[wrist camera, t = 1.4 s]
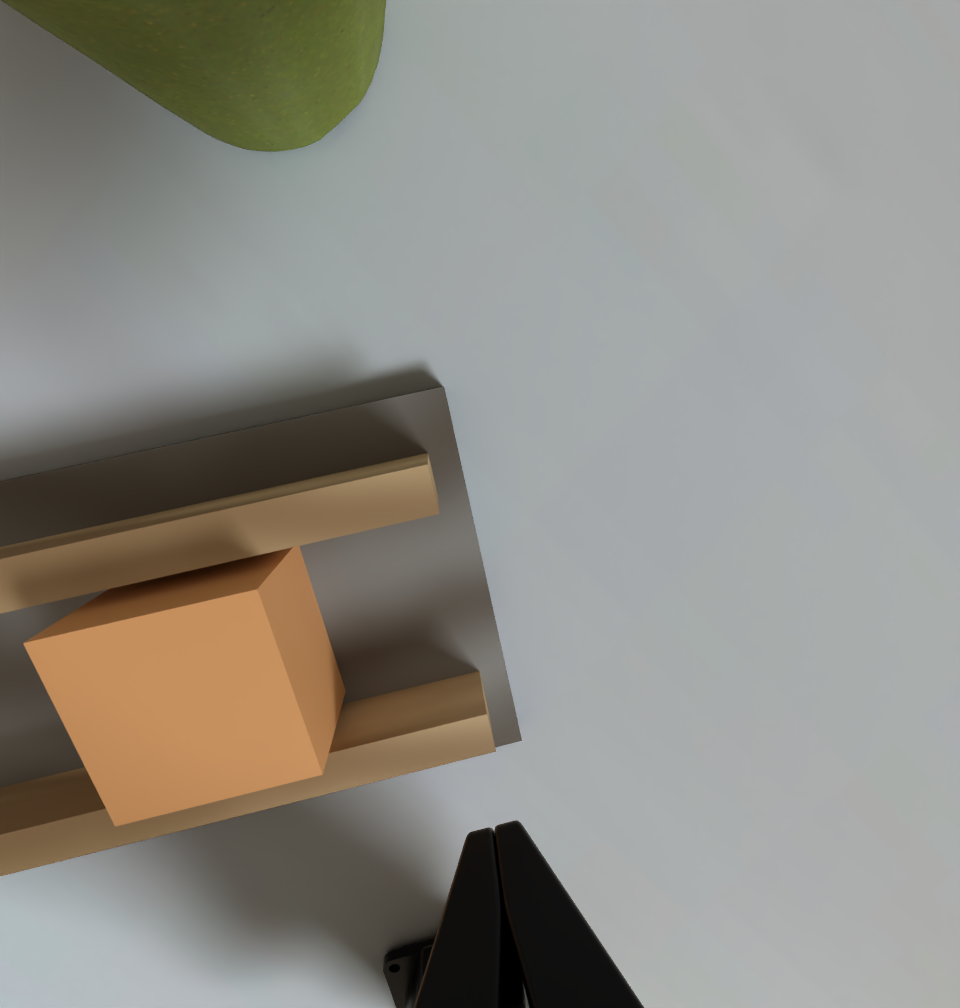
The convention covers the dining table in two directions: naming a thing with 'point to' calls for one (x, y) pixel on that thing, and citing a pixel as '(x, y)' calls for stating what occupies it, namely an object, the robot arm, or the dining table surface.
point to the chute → (245, 533)
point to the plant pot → (231, 59)
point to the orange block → (195, 685)
